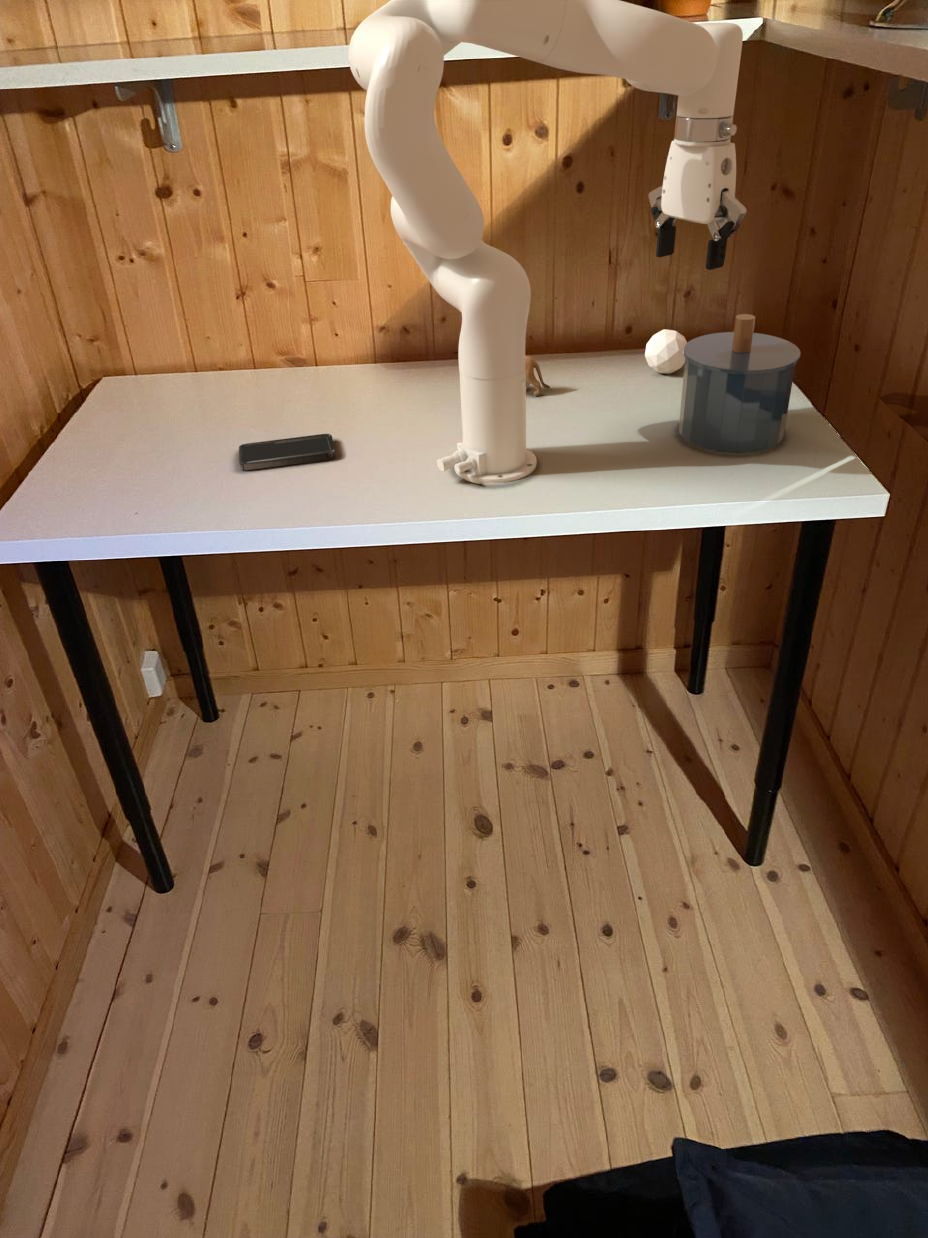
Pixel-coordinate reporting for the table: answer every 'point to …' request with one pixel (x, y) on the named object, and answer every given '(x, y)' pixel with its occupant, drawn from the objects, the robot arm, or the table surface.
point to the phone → (286, 451)
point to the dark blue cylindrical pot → (734, 409)
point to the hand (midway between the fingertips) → (688, 261)
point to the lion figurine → (530, 376)
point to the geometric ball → (665, 351)
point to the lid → (741, 350)
